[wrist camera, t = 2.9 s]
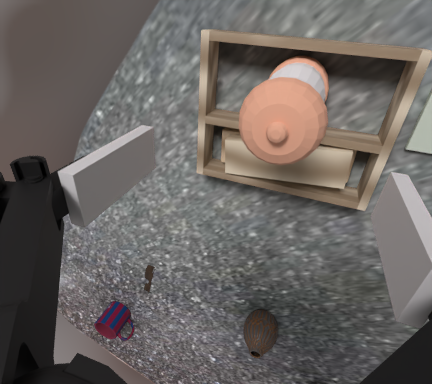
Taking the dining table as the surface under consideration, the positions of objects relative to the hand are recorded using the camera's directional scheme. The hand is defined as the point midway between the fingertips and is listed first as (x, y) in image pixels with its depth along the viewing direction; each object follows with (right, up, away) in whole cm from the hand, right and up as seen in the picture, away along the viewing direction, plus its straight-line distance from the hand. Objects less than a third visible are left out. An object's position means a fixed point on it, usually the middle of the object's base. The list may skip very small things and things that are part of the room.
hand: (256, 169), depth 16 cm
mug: (-28, -36, +64) cm, 78 cm away
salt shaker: (+8, +12, +20) cm, 25 cm away
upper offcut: (+7, +4, +23) cm, 25 cm away
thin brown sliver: (-18, -22, +52) cm, 60 cm away
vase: (+8, -28, +45) cm, 53 cm away
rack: (+8, +9, +22) cm, 25 cm away
